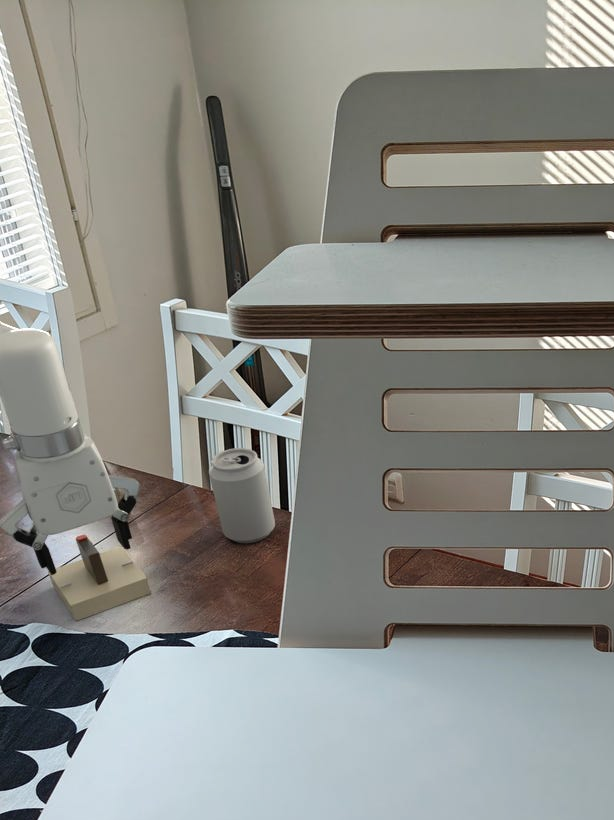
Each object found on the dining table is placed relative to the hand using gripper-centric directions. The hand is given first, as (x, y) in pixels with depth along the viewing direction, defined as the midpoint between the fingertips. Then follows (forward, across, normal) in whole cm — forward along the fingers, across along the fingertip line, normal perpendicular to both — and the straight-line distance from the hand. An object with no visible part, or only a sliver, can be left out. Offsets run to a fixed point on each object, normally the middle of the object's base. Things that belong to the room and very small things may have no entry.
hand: (88, 557), depth 127 cm
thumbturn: (+3, 0, 0) cm, 3 cm away
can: (+5, +22, +1) cm, 23 cm away
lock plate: (+5, 0, 0) cm, 5 cm away
